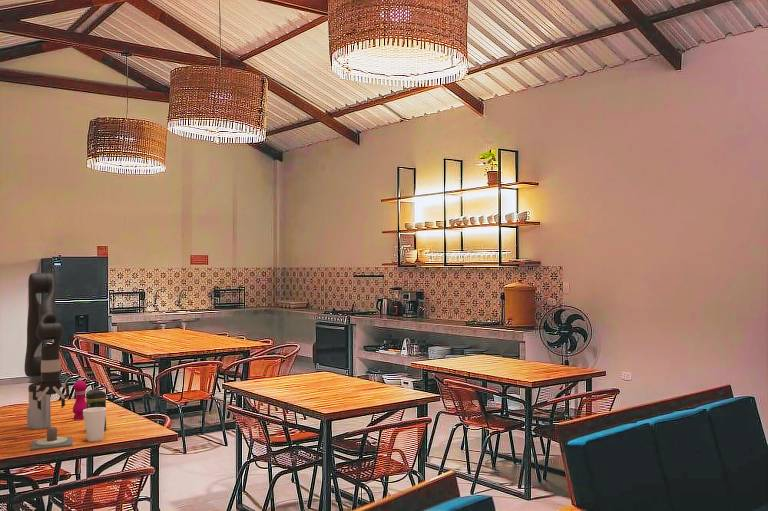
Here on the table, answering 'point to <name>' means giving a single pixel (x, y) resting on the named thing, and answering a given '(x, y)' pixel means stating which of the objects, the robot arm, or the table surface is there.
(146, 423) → the table surface
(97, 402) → the coffee jar
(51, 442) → the lid
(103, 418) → the foam cup
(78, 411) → the pepper mill
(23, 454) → the table surface
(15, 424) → the table surface
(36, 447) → the mat
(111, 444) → the table surface
